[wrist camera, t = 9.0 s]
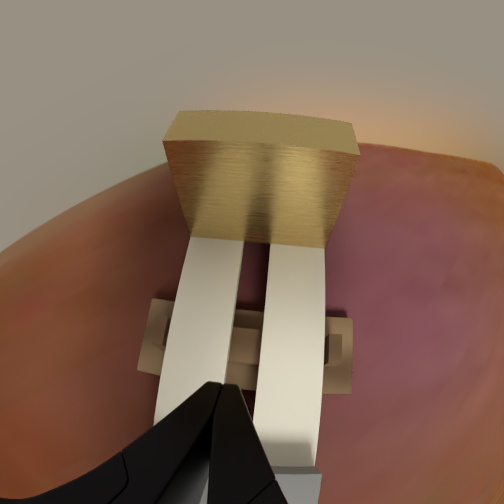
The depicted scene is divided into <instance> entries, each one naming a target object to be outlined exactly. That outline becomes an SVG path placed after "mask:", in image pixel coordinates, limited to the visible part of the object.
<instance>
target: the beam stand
mask: <svg viewBox="0 0 504 504" xmlns="http://www.w3.org/2000/svg"><path fill="white" fill-rule="evenodd" d="M174 304H175V302H174V301H167V300H161V299H154V298H152V301H151V305H150V309H149V313H148V318H147V322H146V327H145V331H144V336H143V341H142V345H141V350H140V355H139V361H138V366H137V370H138V371H142V372H146V373H150V374H154V375H159V376H161V371H162V366H163V360H164V354H165V349H166V344H167V338H168V333H169V328H170V323H171V318H172V314H173V309H174ZM263 321H264V312H258V311H248V310H238V309H235V315H234V322H233V329H232V337H231V344H230V352H229V360H228V367H227V375H226V383H230V384H237V385H239V387H240V389H243V390H253V391H256V389H257V380H258V370H259V361H260V351H261V341H262V331H263ZM352 354H353V325H352V318H340V317H325V341H324V366H323V384H322V394H351V387H352Z"/></svg>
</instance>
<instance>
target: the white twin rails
mask: <svg viewBox="0 0 504 504" xmlns="http://www.w3.org/2000/svg"><path fill="white" fill-rule="evenodd" d="M244 242H245V241H235V240H224V239H212V238H201V237H190V241H189V245H188V249H187V253H186V257H185V261H184V265H183V269H182V273H181V278H180V282H179V286H178V291H177V295H176V300H175V304H174V309H173V314H172V318H171V323H170V328H169V333H168V338H167V344H166V349H165V354H164V360H163V366H162V371H161V377H160V383H159V390H158V396H157V403H156V410H155V417H154V424H153V426H154V425H155V424H157V423H158V422H159V421H160V420H162V419H163V418H164V417H165V416H167V415H168V414H169V413H170V412H171V411H173V410H174V409H175V408H176V407H178V406H179V405H180V404H181V403H182V402H184V401H185V400H186V399H187V398H188V397H189V396H191V395H192V394H193V393H194V392H195V391H196V390H198V389H199V388H200V387H201V386H202V385H203V384H205V383H206V382H207V381H213V382H221V383H222V384H224V383H226V375H227V367H228V360H229V352H230V344H231V337H232V329H233V322H234V315H235V307H236V300H237V293H238V285H239V278H240V271H241V264H242V256H243V249H244ZM324 341H325V254H324V249H322V248H311V247H301V246H290V245H280V244H270V255H269V267H268V278H267V289H266V300H265V310H264V321H263V331H262V341H261V351H260V361H259V370H258V380H257V389H256V398H255V407H254V416H253V424H254V426H255V429H256V431H257V434H258V436H259V439H260V441H261V444H262V446H263V449H264V451H265V454H266V456H267V458H268V461H269V463H270V465H271V468H272V470H273V472H274V475H275V477H276V479H275V480H277V481H278V483H279V486H280V488H281V490H282V492H283V494H284V496H285V498H286V500H287V502H288V504H317V503H318V497H319V491H320V485H321V478H322V473H321V472H320V471H319V470H318V469H316V468H315V467H314V466H315V459H316V450H317V442H318V432H319V422H320V411H321V399H322V384H323V366H324ZM207 493H208V480H207V483H206V486H205V489H204V492H203V495H202V498H201V500H200V503H199V504H207Z"/></svg>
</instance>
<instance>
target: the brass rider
mask: <svg viewBox="0 0 504 504" xmlns="http://www.w3.org/2000/svg"><path fill="white" fill-rule="evenodd" d="M163 145H164V149H165V152H166V156H167V160H168V163H169V167H170V170H171V174H172V177H173V181H174V184H175V187H176V191H177V194H178V197H179V201H180V204H181V207H182V211H183V214H184V217H185V220H186V223H187V226H188V230H189V233H190V236H191V237H201V238H212V239H224V240H235V241H246V242H257V243H268V244H280V245H290V246H301V247H311V248H322V249H325V246H326V244H327V242H328V239H329V237H330V234H331V232H332V229H333V227H334V224H335V222H336V219H337V217H338V214H339V212H340V209H341V207H342V204H343V201H344V199H345V196H346V194H347V191H348V188H349V186H350V183H351V180H352V177H353V175H354V172H355V169H356V166H357V163H358V161H359V158H360V152H359V148H358V144H357V141H356V137H355V134H354V130H353V127H352V124H351V123H348V122H343V121H337V120H330V119H324V118H316V117H309V116H300V115H291V114H281V113H280V114H279V113H268V112H252V111H221V110H220V111H219V110H215V111H214V110H213V111H212V110H206V111H204V110H203V111H179V113H178V114H177V116H176V118H175V119H174V121H173V123H172V124H171V126H170V128H169V130H168V131H167V133H166V135H165V137H164V139H163Z"/></svg>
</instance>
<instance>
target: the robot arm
mask: <svg viewBox="0 0 504 504" xmlns="http://www.w3.org/2000/svg"><path fill="white" fill-rule="evenodd" d="M275 479H276V477H275V475H274V472H273V470H272V468H271V465H270V463H269V461H268V458H267V456H266V454H265V451H264V449H263V446H262V444H261V441H260V439H259V436H258V434H257V431H256V429H255V426H254V424H253V421H252V419H251V416H250V413H249V411H248V408H247V406H246V403H245V400H244V398H243V395H242V392H241V389H240V387H239V385H237V384H230V383H224V384H222V383H221V382H213V381H207V382H206V383H205V384H203V385H202V386H201V387H200V388H199V389H198V390H196V391H195V392H194V393H193V394H192V395H191V396H189V397H188V398H187V399H186V400H185V401H184V402H182V403H181V404H180V405H179V406H178V407H176V408H175V409H174V410H173V411H171V412H170V413H169V414H168V415H167V416H165V417H164V418H163V419H162V420H160V421H159V422H158V423H157V424H155V425H154V426H153V427H152V428H150V429H149V430H148V431H146V432H145V433H144V434H143V435H141V436H140V437H139V438H137V439H136V440H135V441H133V442H132V443H131V444H129V445H128V446H127V447H125V448H124V449H123V450H122V452H118V453H117V454H116V455H114V456H113V457H112V458H110V459H109V460H107V461H106V462H104V463H103V464H101V465H100V466H98V467H96V468H95V469H93V470H91V471H90V472H88V473H86V474H84V475H82V476H80V477H78V478H76V479H74V480H72V481H70V482H68V483H66V484H63V485H61V486H59V487H57V488H54V489H52V490H50V491H47V492H45V493H42V494H40V495H37V496H34V497H30V498H24V499H7V498H0V504H199V503H200V500H201V498H202V495H203V492H204V489H205V486H206V483H207V480H208V493H207V504H288V502H287V500H286V498H285V496H284V494H283V492H282V490H281V488H280V486H279V483H278V481H277V480H275Z"/></svg>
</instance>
